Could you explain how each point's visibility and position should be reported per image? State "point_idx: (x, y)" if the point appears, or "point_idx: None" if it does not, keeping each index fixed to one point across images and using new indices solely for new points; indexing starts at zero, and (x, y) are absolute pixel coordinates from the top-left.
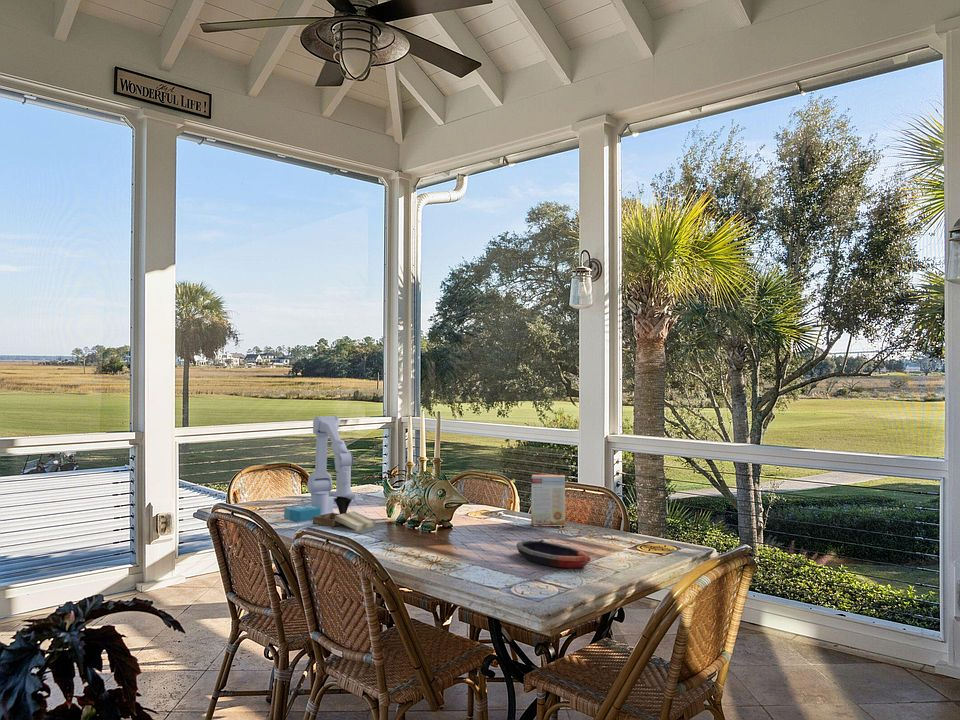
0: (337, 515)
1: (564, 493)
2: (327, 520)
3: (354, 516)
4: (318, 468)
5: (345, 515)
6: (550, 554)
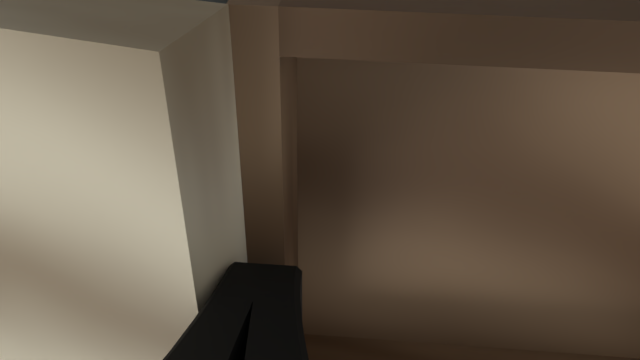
0: (132, 100)
1: None
2: (472, 1)
3: (20, 329)
4: None
5: (94, 257)
6: None
